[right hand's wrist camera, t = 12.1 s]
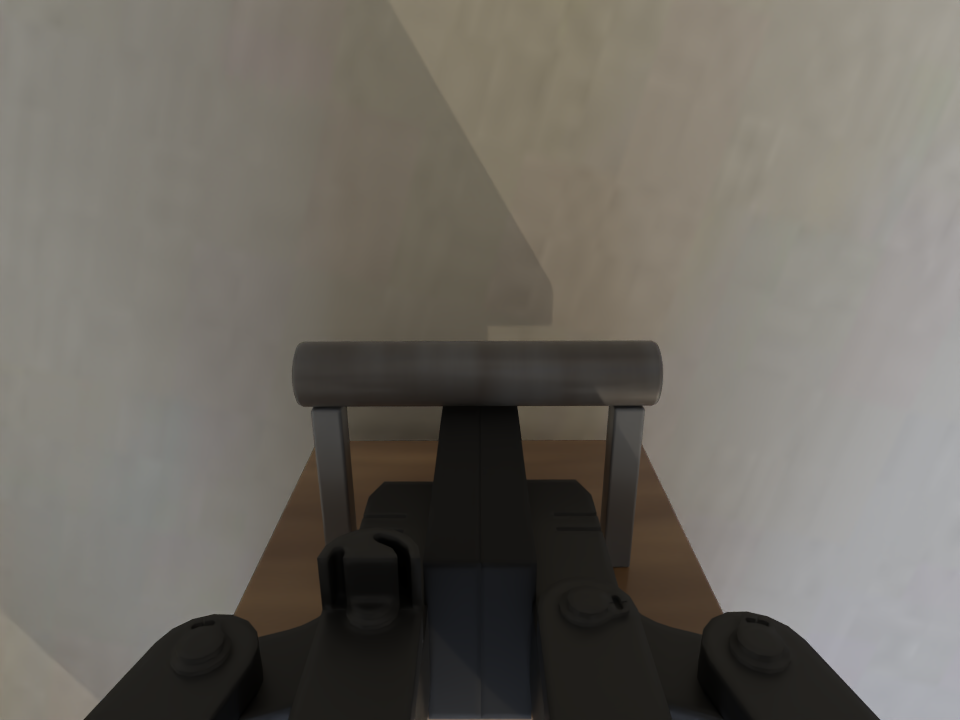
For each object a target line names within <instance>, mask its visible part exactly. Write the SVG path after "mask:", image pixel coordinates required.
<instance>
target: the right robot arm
mask: <svg viewBox="0 0 960 720" xmlns="http://www.w3.org/2000/svg"><path fill="white" fill-rule="evenodd" d="M317 563H318V573H319V582H320V592H321V601H322V613H321V615H320V616H319V617H317V618H316V619H314V620H312V621H310V622H308V623H306V624H304V625H301V626H298V627H295V628H292V629H289V630H285V631H281V632H277V633H273V634H269V635H265V636H260V637H258V634H257V631H256V630H255V628H254V627H253V626H252V625H251V623H250V622H249V621H248V620H245V619H243V618H240V617H237V616H235V615H221V614H213V615H209V616H204V617H200V618H196V619H192V620H190V621H188V622H186V623H184V624H182V625H180V626H178V627H176V628H173V629H172V630H171V631H169V632H168V633H167V634H166V635H164V636H163V637H162V638H161V639H160V640H158V641H157V642H156V643H155V644H154V645H153V646H152V647H151V648H150V649H149V650H148V651H147V652H146V653H145V655H144V656H143V657H142V658H141V659H140V660H139V661H138V662H137V663H136V664H135V665H134V666H133V667H132V668H131V670H130V671H129V672H128V673H127V674H126V675H125V676H124V677H123V678H122V679H121V680H120V681H119V682H118V683H117V684H116V686H115V687H114V688H113V689H112V690H111V691H110V692H109V693H108V694H107V695H106V696H105V697H104V698H103V699H102V701H101V702H100V703H99V704H98V705H97V706H96V707H95V708H94V709H93V710H92V711H91V712H90V713H89V714H88V715H87V717H86V718H85V719H84V720H428V715H429V719H531V715H532V716H533V720H880V719H879V718H878V717H877V716H876V715H875V714H874V713H873V712H872V711H871V709H870V708H869V707H868V706H867V705H866V704H865V703H864V702H863V701H862V700H861V699H860V698H859V697H858V696H857V695H856V694H855V692H854V691H853V690H852V689H851V688H850V687H849V686H848V685H847V684H846V683H845V682H844V681H843V680H842V679H841V678H840V677H839V675H838V674H837V673H836V672H835V671H834V670H833V669H832V668H831V667H830V666H829V665H828V664H827V663H826V662H825V661H824V660H823V658H822V657H821V656H820V655H819V654H818V653H817V652H816V651H815V650H814V649H813V648H812V647H811V646H810V645H809V644H808V643H807V641H806V640H804V639H803V638H802V637H801V636H800V635H798V634H797V633H796V632H795V631H793V630H792V629H791V628H790V627H788V626H787V625H784V624H782V623H780V622H778V621H776V620H774V619H772V618H770V617H768V616H763V615H759V614H755V613H750V612H726V613H724V614H721V615H719V616H716V617H714V618H712V619H711V620H710V621H709V622H708V624H707V625H706V626H705V627H704V629H703V634H698V633H694V632H690V631H686V630H681V629H677V628H673V627H670V626H667V625H664V624H661V623H658V622H655V621H653V620H651V619H650V618H648V617H646V616H644V615H642V614H641V613H639V612H638V609H637V607H636V606H635V604H634V602H633V601H632V599H631V597H630V596H629V595H628V594H627V593H625V592H624V591H623V590H621V589H620V588H619V587H618V584H617V580H616V577H615V573H614V570H613V566H612V563H611V560H610V556H609V553H608V549H607V546H606V543H605V539H604V536H603V532H602V531H601V526H600V522H599V519H598V516H597V512H596V508H595V505H594V502H593V498H592V495H591V494H590V493H589V492H588V491H587V490H586V489H585V488H584V487H583V486H582V485H581V484H580V483H579V482H578V481H577V480H576V479H526V472H525V464H524V456H523V448H522V440H521V433H520V425H519V417H518V409H517V406H443V409H442V417H441V425H440V433H439V441H438V448H437V456H436V464H435V472H434V480H433V481H384V482H383V483H382V484H381V485H380V486H379V487H378V488H377V489H376V490H375V491H374V492H373V493H372V494H371V495H370V496H369V497H368V501H367V504H366V508H365V511H364V515H363V518H362V521H361V525H360V528H359V530H355V531H352V532H349V533H346V534H344V535H341V536H339V537H337V538H336V539H334V540H333V541H332V542H330V543H329V544H327V545H326V546H325V547H324V548H323V550H322V551H321V553H320V554H319V556H318V557H317Z"/></svg>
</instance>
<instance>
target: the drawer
mask: <svg viewBox="0 0 960 720" xmlns="http://www.w3.org/2000/svg"><path fill="white" fill-rule="evenodd" d="M292 383H293V390H294V395H295V398H296V401H297V403H298V404H299V405H301V406H303V407H313V409H312V411H311V416H312V426H313V435H314V444H315V447H314V449H313V451H312V453H311V455H310V457H309V460H308V462H307V464H306V466H305V468H304V470H303V472H302V474H301V476H300V478H299V480H298V482H297V484H296V486H295V489H294V491H293V493H292V495H291V497H290V499H289V501H288V503H287V505H286V507H285V509H284V511H283V513H282V516H281V518H280V520H279V522H278V524H277V526H276V528H275V530H274V532H273V534H272V536H271V538H270V540H269V542H268V545H267V547H266V549H265V551H264V553H263V555H262V557H261V559H260V561H259V563H258V565H257V567H256V569H255V572H254V574H253V576H252V578H251V580H250V582H249V584H248V586H247V588H246V590H245V592H244V594H243V596H242V598H241V601H240V603H239V605H238V607H237V609H236V611H235V613H234V615H235V616H237V617H240V618H243V619H245V620H248V621H249V622H250V623H251V625H252V626H253V627H254V628H255V630H256V631H257V634H258V637H260V636H265V635H269V634H273V633H277V632H281V631H285V630H289V629H292V628H295V627H298V626H301V625H304V624H306V623H308V622H310V621H312V620H314V619H316V618H317V617H319V616H320V615H321V613H322V601H321V592H320V582H319V573H318V563H317V557H318V556H319V554H320V553H321V551H322V550H323V548H324V547H325V546H326V545H327V544H329V543H330V542H332V541H333V540H334V539H336V538H337V537H339V536H341V535H344V534H346V533H349V532H352V531H355V530H359V528H360V525H361V521H362V518H363V515H364V511H365V508H366V504H367V501H368V497H369V496H370V495H371V494H372V493H373V492H374V491H375V490H376V489H377V488H378V487H379V486H380V485H381V484H382V483H383V482H384V481H433V480H434V472H435V464H436V456H437V448H438V441H349V429H348V418H347V407H360V406H609V411H608V425H607V438H606V440H522V448H523V456H524V464H525V472H526V479H576V480H577V481H578V482H579V483H580V484H581V485H582V486H583V487H584V488H585V489H586V490H587V491H588V492H589V493H590V494H591V495H592V498H593V502H594V505H595V508H596V512H597V516H598V519H599V522H600V526H601V531H602V532H603V536H604V539H605V543H606V546H607V549H608V553H609V556H610V560H611V563H612V566H613V570H614V573H615V577H616V580H617V584H618V587H619V588H620V589H621V590H623V591H624V592H625V593H627V594H628V595H629V596H630V597H631V599H632V601H633V602H634V604H635V606H636V607H637V609H638V612H639V613H641V614H642V615H644V616H646V617H648V618H650V619H651V620H653V621H655V622H658V623H661V624H664V625H667V626H670V627H673V628H677V629H681V630H686V631H690V632H694V633H698V634H703V629H704V627H705V626H706V625H707V624H708V622H709V621H710V620H711V619H712V618H714V617H716V616H719V615H721V614H723V612H722V609H721V607H720V605H719V603H718V601H717V599H716V597H715V595H714V593H713V591H712V589H711V587H710V585H709V583H708V580H707V578H706V576H705V574H704V572H703V570H702V568H701V566H700V564H699V562H698V560H697V558H696V556H695V553H694V551H693V549H692V547H691V545H690V543H689V541H688V539H687V537H686V535H685V533H684V531H683V529H682V527H681V524H680V522H679V520H678V518H677V516H676V514H675V512H674V510H673V508H672V506H671V504H670V502H669V500H668V498H667V495H666V493H665V491H664V489H663V487H662V485H661V483H660V481H659V479H658V477H657V475H656V473H655V471H654V468H653V466H652V464H651V462H650V460H649V458H648V456H647V454H646V452H645V450H644V448H643V446H642V434H643V424H644V413H645V410H644V408H643V406H651V405H654V404H656V403H657V402H658V400H659V398H660V394H661V390H662V384H663V364H662V357H661V353H660V350H659V347H658V345H657V344H656V343H655V342H653V341H396V342H302V343H300V344H299V345H298V346H297V348H296V351H295V354H294V359H293V366H292ZM428 720H533V716H532V715H531V719H429V715H428Z"/></svg>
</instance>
